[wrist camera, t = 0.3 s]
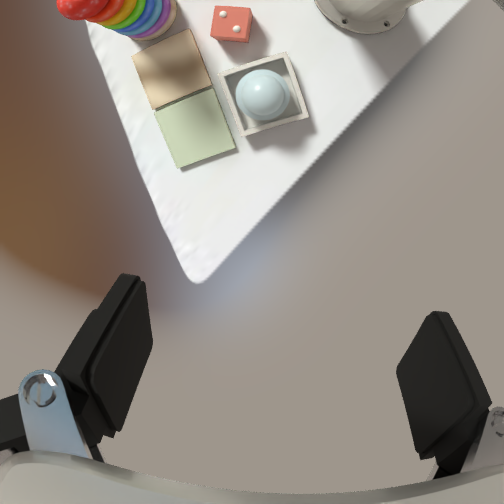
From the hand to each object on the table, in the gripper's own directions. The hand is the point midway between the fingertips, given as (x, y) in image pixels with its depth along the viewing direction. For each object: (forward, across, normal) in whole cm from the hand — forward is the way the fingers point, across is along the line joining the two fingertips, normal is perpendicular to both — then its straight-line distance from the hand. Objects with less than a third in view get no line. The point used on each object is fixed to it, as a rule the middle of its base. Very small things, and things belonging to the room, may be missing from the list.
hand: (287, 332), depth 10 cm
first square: (+34, +15, -8) cm, 38 cm away
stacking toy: (+34, +19, -16) cm, 42 cm away
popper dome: (+32, +3, -6) cm, 32 cm away
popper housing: (+34, +3, -6) cm, 34 cm away
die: (+34, +7, -14) cm, 38 cm away
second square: (+34, +11, 0) cm, 36 cm away
